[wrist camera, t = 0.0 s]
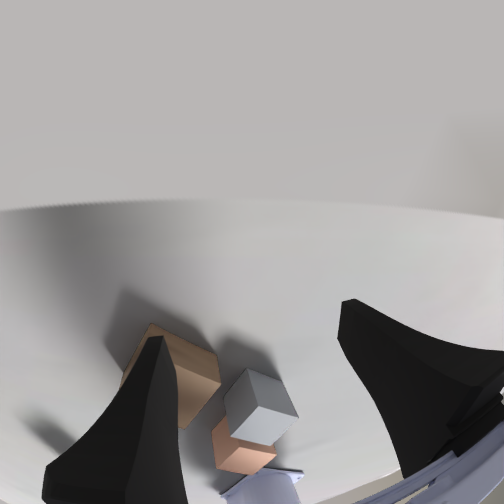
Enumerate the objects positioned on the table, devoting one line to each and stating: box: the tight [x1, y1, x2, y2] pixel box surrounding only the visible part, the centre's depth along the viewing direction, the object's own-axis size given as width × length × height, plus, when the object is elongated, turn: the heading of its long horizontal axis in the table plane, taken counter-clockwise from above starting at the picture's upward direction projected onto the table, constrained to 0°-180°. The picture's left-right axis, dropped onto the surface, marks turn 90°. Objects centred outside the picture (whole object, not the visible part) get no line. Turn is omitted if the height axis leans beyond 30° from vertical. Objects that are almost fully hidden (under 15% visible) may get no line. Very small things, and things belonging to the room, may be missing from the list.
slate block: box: [223, 368, 299, 446], centre depth 22 cm, size 4×4×5 cm
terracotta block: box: [211, 415, 277, 475], centre depth 23 cm, size 4×4×5 cm
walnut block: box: [119, 323, 221, 430], centre depth 21 cm, size 6×6×4 cm
